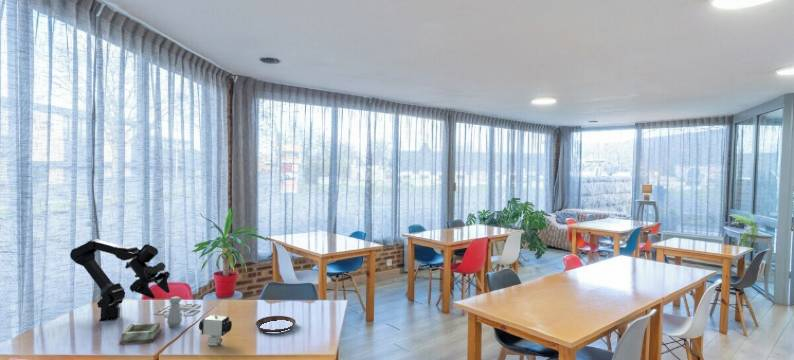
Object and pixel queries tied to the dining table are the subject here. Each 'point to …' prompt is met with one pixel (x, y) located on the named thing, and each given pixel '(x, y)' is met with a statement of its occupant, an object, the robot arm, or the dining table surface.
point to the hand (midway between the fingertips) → (161, 295)
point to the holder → (140, 333)
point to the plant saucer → (274, 318)
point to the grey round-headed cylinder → (174, 312)
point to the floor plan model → (183, 307)
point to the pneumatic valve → (215, 328)
